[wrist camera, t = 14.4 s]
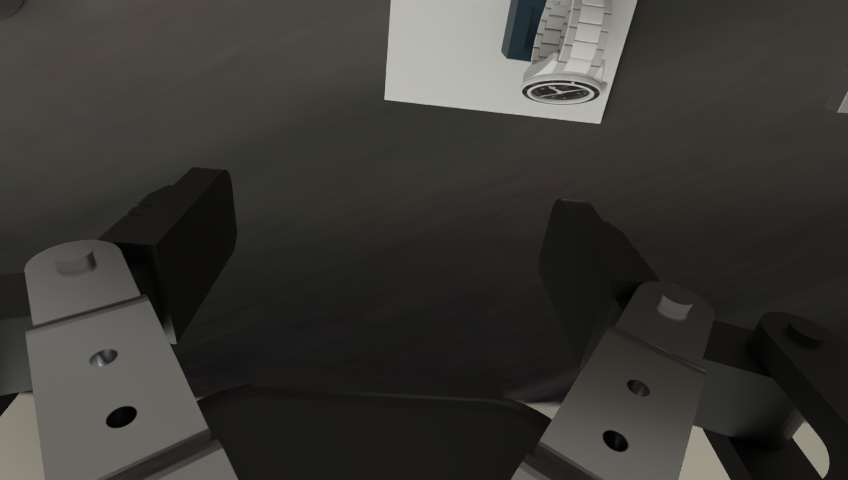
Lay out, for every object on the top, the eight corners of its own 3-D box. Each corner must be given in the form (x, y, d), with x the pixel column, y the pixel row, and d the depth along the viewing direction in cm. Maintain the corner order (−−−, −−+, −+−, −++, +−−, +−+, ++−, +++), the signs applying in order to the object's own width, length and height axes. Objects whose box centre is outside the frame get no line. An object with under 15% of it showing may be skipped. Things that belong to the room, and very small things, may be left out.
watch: (495, 77, 38) (518, 116, 28) (518, -39, 34) (554, -40, 24) (564, 86, 38) (610, 128, 28) (595, -28, 34) (660, -24, 24)
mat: (384, 98, 39) (384, 99, 39) (398, -111, 32) (398, -112, 32) (598, 122, 40) (599, 123, 39) (657, -77, 33) (660, -77, 32)
